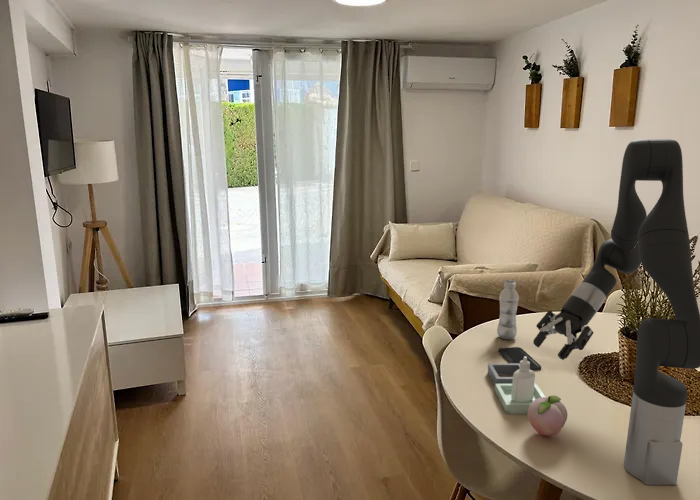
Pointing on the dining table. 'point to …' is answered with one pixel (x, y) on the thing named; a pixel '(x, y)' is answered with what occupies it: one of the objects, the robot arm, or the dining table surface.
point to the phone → (518, 356)
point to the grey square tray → (502, 372)
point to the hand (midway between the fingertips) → (547, 351)
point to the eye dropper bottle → (523, 383)
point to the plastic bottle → (508, 311)
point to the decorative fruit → (547, 415)
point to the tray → (511, 406)
